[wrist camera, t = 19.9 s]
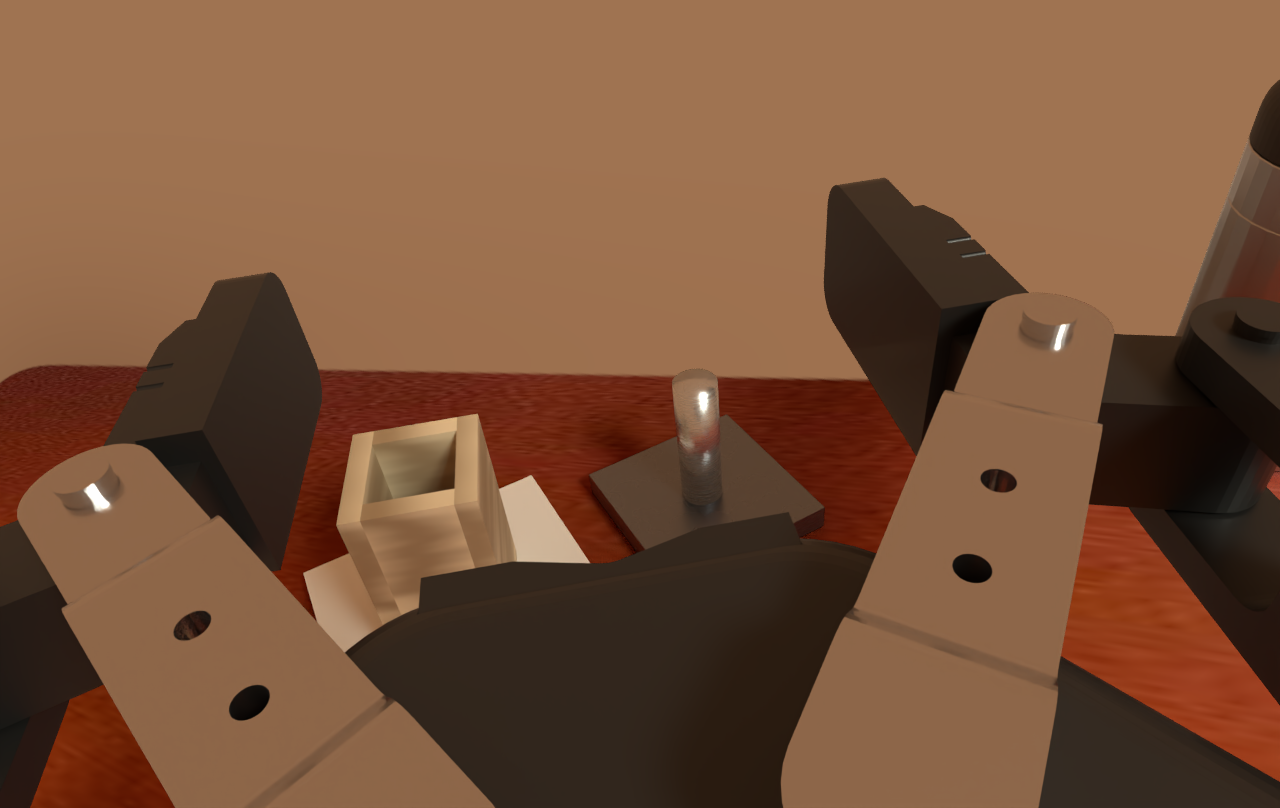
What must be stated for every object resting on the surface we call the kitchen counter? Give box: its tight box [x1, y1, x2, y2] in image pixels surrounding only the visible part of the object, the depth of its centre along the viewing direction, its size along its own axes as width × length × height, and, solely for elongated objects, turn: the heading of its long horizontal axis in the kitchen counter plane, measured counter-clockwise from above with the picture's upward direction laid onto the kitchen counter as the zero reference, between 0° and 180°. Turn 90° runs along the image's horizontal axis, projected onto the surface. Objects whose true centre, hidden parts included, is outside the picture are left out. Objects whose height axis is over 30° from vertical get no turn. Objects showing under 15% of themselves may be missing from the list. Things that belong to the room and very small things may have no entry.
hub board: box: [303, 475, 590, 653], centre depth 43 cm, size 14×14×8 cm
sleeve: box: [336, 414, 517, 625], centre depth 41 cm, size 6×6×10 cm
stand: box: [589, 369, 825, 553], centre depth 47 cm, size 10×10×10 cm
